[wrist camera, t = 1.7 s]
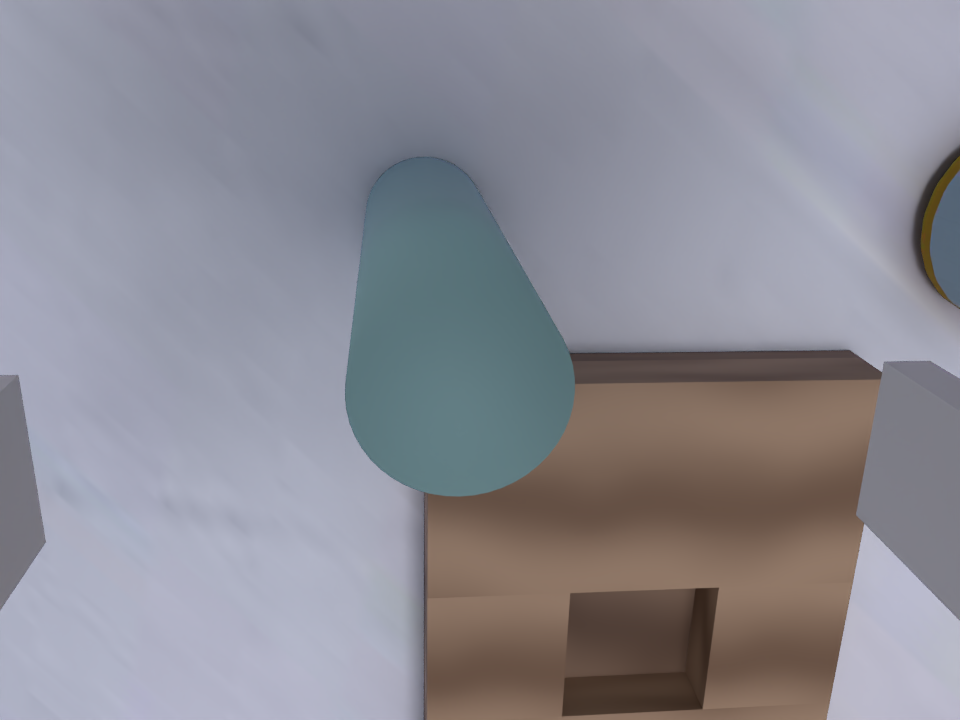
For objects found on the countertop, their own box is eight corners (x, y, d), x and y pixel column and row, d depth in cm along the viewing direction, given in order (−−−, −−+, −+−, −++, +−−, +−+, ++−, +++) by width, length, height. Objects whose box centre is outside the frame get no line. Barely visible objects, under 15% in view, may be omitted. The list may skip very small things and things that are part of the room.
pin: (364, 156, 30) (341, 282, 15) (484, 157, 30) (581, 282, 15) (366, 274, 31) (348, 499, 16) (482, 273, 31) (568, 493, 16)
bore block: (424, 355, 32) (428, 386, 29) (849, 350, 34) (891, 379, 31) (423, 823, 40) (426, 883, 37) (771, 801, 41) (799, 857, 39)
